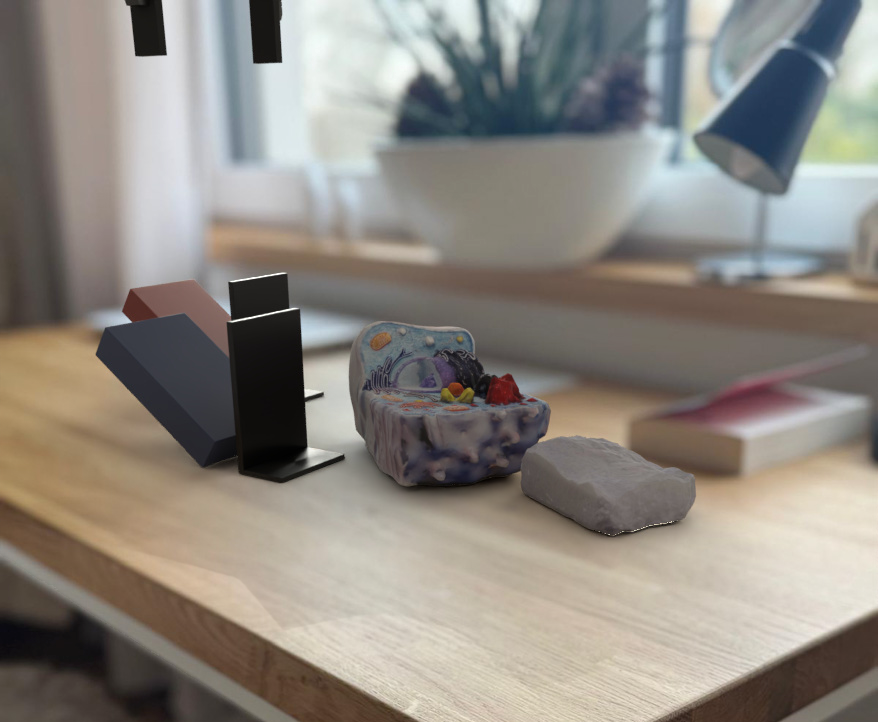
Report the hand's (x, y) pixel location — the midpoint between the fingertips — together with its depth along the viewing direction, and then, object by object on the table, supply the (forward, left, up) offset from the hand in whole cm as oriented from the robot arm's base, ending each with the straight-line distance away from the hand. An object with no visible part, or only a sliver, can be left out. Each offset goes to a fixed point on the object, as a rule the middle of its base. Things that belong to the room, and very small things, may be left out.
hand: (212, 60), depth 89 cm
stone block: (+39, -3, -31) cm, 50 cm away
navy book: (+1, -8, -27) cm, 28 cm away
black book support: (+13, -8, -31) cm, 34 cm away
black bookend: (-3, +9, -31) cm, 32 cm away
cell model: (+22, -1, -31) cm, 38 cm away
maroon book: (-15, +9, -27) cm, 32 cm away
